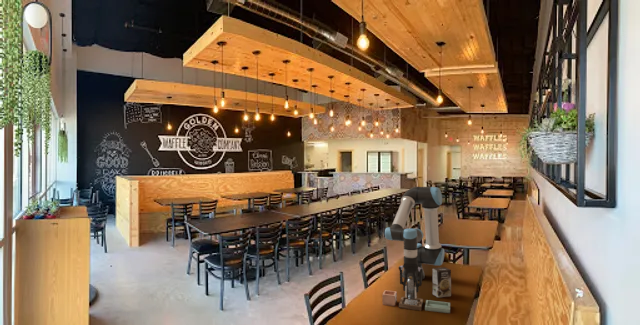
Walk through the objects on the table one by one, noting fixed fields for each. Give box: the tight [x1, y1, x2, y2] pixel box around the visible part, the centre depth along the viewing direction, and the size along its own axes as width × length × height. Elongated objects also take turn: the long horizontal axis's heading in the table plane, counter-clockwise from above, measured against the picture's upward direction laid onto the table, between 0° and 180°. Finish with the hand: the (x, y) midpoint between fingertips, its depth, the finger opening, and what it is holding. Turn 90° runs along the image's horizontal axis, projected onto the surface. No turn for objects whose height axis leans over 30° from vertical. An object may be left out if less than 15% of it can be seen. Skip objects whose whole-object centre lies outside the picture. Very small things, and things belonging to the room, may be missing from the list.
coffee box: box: [432, 266, 452, 298], centre depth 226 cm, size 9×6×16 cm
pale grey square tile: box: [404, 299, 418, 305], centre depth 212 cm, size 7×7×1 cm
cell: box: [406, 276, 416, 299], centre depth 212 cm, size 5×5×12 cm
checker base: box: [398, 296, 424, 311], centre depth 212 cm, size 12×12×2 cm
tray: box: [424, 299, 451, 314], centre depth 207 cm, size 10×13×2 cm
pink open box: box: [381, 289, 398, 307], centre depth 215 cm, size 7×7×6 cm
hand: (410, 297), depth 212 cm, fingers closed on cell, 4 cm apart
